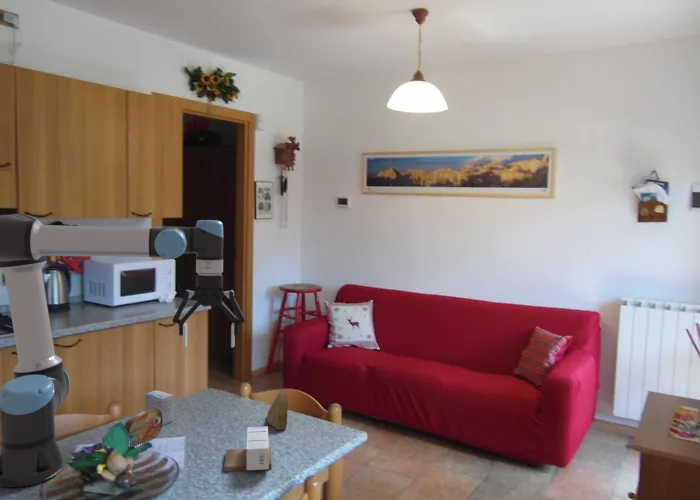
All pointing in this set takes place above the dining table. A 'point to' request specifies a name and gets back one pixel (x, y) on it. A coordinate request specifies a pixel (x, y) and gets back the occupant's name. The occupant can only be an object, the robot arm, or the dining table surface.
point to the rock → (278, 412)
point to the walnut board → (239, 460)
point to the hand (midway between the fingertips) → (209, 346)
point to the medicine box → (161, 404)
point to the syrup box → (257, 448)
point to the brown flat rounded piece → (144, 426)
